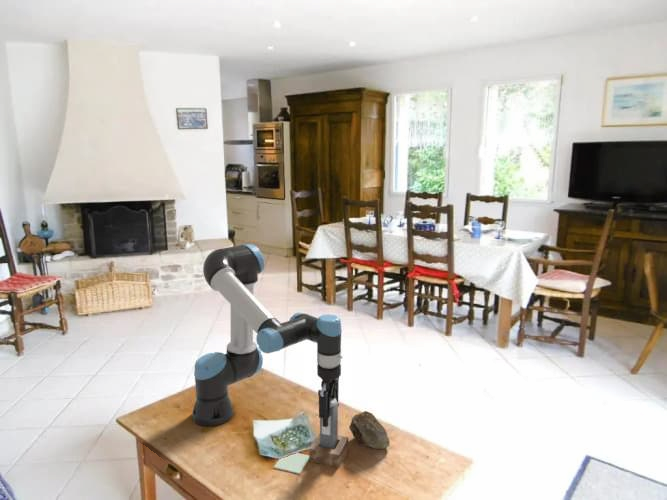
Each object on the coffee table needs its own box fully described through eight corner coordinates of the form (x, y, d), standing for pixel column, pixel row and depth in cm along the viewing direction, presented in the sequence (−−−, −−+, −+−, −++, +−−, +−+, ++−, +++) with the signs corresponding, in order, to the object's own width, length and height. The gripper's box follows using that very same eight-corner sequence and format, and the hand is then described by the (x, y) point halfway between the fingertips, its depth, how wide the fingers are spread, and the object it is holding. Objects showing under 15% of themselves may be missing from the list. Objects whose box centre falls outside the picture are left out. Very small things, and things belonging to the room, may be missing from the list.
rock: (404, 426, 160) (370, 395, 162) (397, 441, 154) (362, 410, 156) (381, 445, 168) (349, 416, 170) (373, 460, 162) (340, 430, 164)
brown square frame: (309, 461, 154) (309, 448, 153) (320, 443, 163) (320, 431, 162) (338, 467, 150) (338, 455, 150) (348, 449, 160) (348, 437, 159)
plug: (319, 447, 155) (319, 403, 151) (324, 439, 159) (324, 395, 156) (333, 451, 153) (333, 406, 150) (338, 442, 158) (338, 398, 154)
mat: (273, 468, 150) (273, 466, 150) (285, 451, 159) (285, 450, 159) (299, 474, 147) (299, 473, 147) (310, 457, 156) (310, 455, 156)
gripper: (330, 377, 141) (330, 447, 146) (348, 354, 157) (348, 417, 162) (307, 373, 143) (308, 442, 148) (327, 351, 159) (327, 413, 164)
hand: (328, 429), depth 155 cm, fingers closed on plug, 4 cm apart
